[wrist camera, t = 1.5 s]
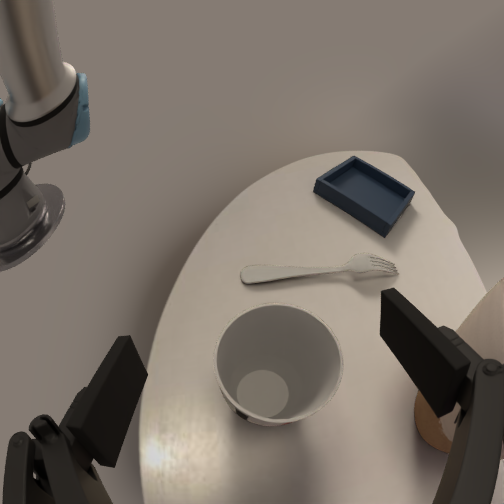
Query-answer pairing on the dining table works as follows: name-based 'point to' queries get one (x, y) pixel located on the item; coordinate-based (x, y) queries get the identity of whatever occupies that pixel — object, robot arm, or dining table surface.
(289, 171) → the dining table surface
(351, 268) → the fork
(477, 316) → the vase
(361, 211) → the tray
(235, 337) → the cup
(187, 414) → the dining table surface
